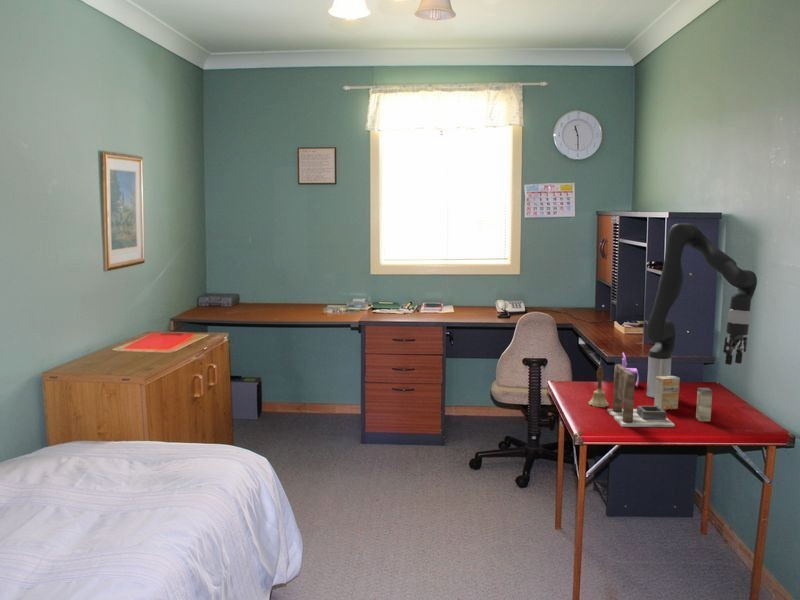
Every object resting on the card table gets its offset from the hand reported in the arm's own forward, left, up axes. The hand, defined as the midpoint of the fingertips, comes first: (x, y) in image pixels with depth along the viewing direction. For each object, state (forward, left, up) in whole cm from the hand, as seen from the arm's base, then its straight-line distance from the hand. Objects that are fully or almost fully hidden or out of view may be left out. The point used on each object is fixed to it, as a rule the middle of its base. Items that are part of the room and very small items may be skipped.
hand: (733, 363), depth 279 cm
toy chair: (-51, -24, -22) cm, 60 cm away
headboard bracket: (+2, -35, -22) cm, 41 cm away
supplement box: (-13, -20, -22) cm, 32 cm away
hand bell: (-18, -46, -22) cm, 54 cm away
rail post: (+2, -11, -22) cm, 24 cm away
